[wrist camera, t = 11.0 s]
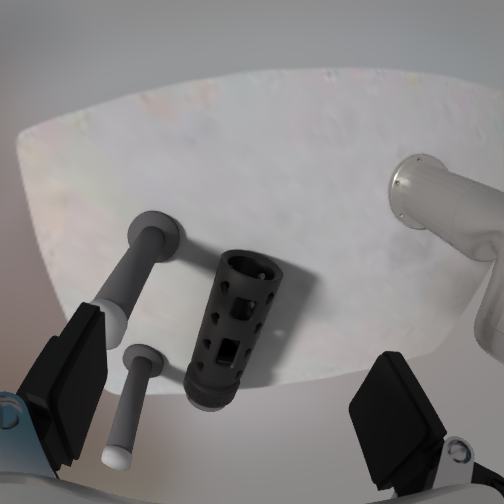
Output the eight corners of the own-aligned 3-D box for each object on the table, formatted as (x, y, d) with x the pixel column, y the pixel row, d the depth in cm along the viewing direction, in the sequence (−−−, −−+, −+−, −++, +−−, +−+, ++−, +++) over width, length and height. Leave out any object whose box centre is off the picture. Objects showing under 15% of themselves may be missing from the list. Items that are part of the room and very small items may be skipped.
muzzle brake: (279, 256, 51) (290, 289, 41) (231, 379, 61) (232, 419, 51) (220, 240, 49) (218, 271, 40) (184, 369, 59) (178, 409, 50)
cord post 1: (183, 216, 47) (143, 304, 25) (175, 263, 50) (140, 371, 28) (132, 206, 46) (58, 283, 24) (127, 254, 49) (65, 352, 27)
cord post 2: (164, 349, 57) (141, 458, 35) (162, 377, 60) (142, 479, 38) (124, 340, 56) (86, 443, 34) (124, 369, 59) (93, 467, 36)
